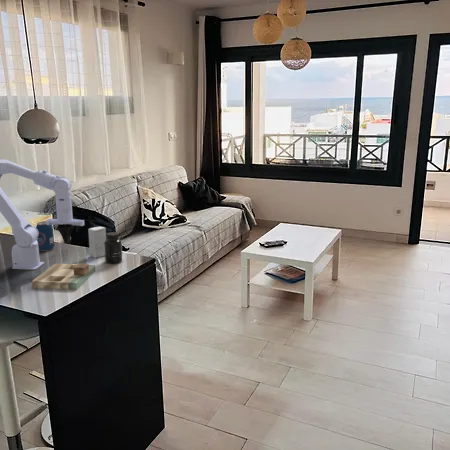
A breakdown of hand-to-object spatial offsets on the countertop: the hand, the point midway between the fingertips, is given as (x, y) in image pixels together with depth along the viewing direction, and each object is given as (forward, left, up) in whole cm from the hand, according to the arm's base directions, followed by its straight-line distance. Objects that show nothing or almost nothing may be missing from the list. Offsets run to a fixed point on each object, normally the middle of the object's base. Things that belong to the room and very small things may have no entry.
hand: (67, 242), depth 177 cm
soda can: (-18, +19, -10) cm, 28 cm away
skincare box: (+8, +13, -10) cm, 18 cm away
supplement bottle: (+17, +6, -10) cm, 20 cm away
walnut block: (+11, -15, -7) cm, 20 cm away
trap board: (+5, -15, -9) cm, 18 cm away
